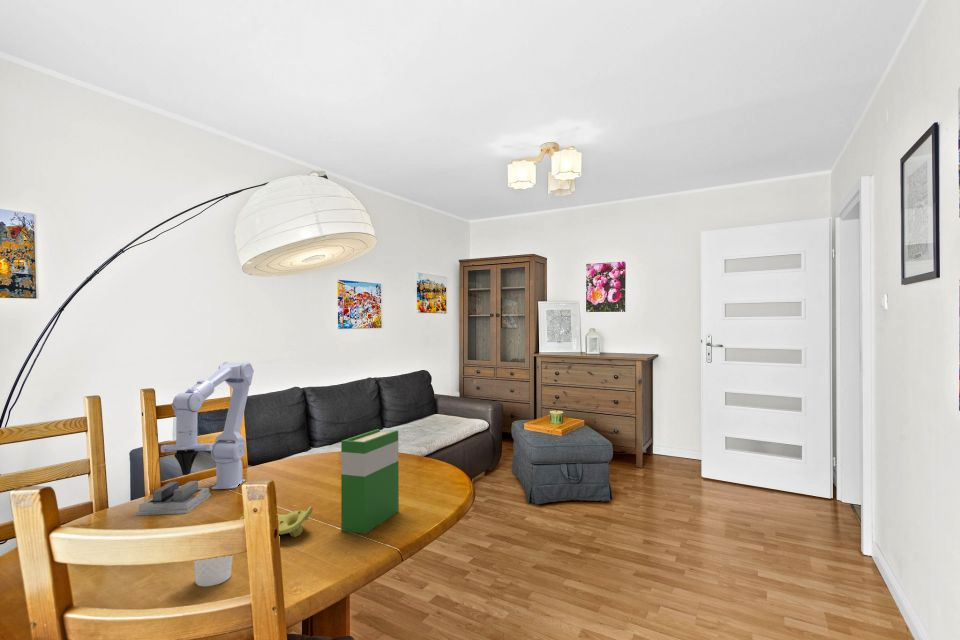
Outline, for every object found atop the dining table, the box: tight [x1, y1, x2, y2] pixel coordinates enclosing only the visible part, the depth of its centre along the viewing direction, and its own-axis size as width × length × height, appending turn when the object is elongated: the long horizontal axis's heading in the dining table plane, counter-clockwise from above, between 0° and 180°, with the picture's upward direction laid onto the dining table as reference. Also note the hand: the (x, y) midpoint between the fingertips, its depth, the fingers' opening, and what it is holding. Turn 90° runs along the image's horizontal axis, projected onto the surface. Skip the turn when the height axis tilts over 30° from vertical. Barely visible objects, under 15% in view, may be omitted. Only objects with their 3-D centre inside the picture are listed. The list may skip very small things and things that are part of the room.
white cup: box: [193, 554, 234, 587], centre depth 104 cm, size 8×8×10 cm
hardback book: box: [340, 428, 400, 535], centre depth 137 cm, size 18×7×24 cm, turn 159°
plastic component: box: [239, 506, 314, 538], centre depth 129 cm, size 20×7×10 cm
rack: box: [136, 481, 212, 517], centre depth 151 cm, size 16×14×6 cm
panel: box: [174, 480, 199, 501], centre depth 152 cm, size 10×2×5 cm, turn 6°
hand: (186, 474), depth 152 cm, fingers closed
